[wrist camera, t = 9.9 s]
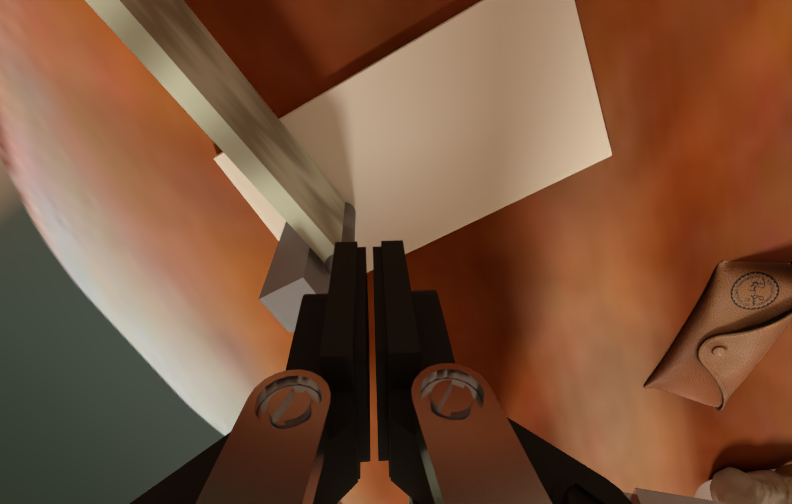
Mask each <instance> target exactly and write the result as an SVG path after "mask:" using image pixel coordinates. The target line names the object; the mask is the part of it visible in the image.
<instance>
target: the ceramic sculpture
mask: <svg viewBox="0 0 792 504" xmlns="http://www.w3.org/2000/svg"><path fill="white" fill-rule="evenodd" d="M710 491H711V497H712V499H713V501H717V502H722V503H728V504H792V464H789V465H785V466H782V467H780V468H778V469H776V470H775V471H773V470H757V471H750V472H747V473H745V472H743V471H741V470H738V469H736V468H733V467H727V468H725V469H722V470H720V471H718V472H716V473H715V474H714V475H713V478H712V481H711V484H710Z"/></svg>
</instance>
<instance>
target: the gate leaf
mask: <svg viewBox="0 0 792 504" xmlns="http://www.w3.org/2000/svg"><path fill="white" fill-rule="evenodd" d="M85 1H86V2H87V3H88V4H89V5H90V6H91V7H92V9H93V10H94V11H95V12H96V13H97V14H98V15H99V16H100V17H101V18H102V20H103V21H104V22H105V23H106V24H107V25H108V26H109V27H110V28H111V29H112V31H113V32H114V33H115V34H116V35H117V36H118V37H119V38H120V39H121V40H122V41H123V43H124V44H125V45H126V46H127V47H128V48H129V49H130V50H131V51H132V52H133V54H134V55H135V56H136V57H137V58H138V59H139V60H140V61H141V62H142V63H143V65H144V66H145V67H146V68H147V69H148V70H149V71H150V72H151V73H152V74H153V75H154V77H155V78H156V79H157V80H158V81H159V82H160V83H161V84H162V85H163V86H164V88H165V89H166V90H167V91H168V92H169V93H170V94H171V95H172V96H173V97H174V99H175V100H176V101H177V102H178V103H179V104H180V105H181V106H182V107H183V108H184V109H185V111H186V112H187V113H188V114H189V115H190V116H191V117H192V118H193V119H194V120H195V122H196V123H197V124H198V125H199V126H200V127H201V128H202V129H203V130H204V131H205V133H206V134H207V135H208V136H209V137H210V138H211V139H212V140H213V141H214V142H215V143H216V145H217V146H218V147H219V148H220V149H221V150H222V151H223V152H224V153H225V154H226V156H227V157H228V158H229V159H230V160H231V161H232V162H233V163H234V164H235V165H236V167H237V168H238V169H239V170H240V171H241V172H242V173H243V174H244V175H245V176H246V177H247V179H248V180H249V181H250V182H251V183H252V184H253V185H254V186H255V187H256V188H257V190H258V191H259V192H260V193H261V194H262V195H263V196H264V197H265V198H266V199H267V200H268V202H269V203H270V204H271V205H272V206H273V207H274V208H275V209H276V210H277V211H278V213H279V214H280V215H281V216H282V217H283V218H284V219H285V220H286V221H287V222H288V224H289V225H290V226H291V227H292V228H293V229H294V230H295V231H296V232H297V233H298V234H299V236H300V237H301V238H302V239H303V240H304V241H305V242H306V243H307V244H308V245H309V247H310V248H311V249H312V250H313V251H314V252H315V253H316V254H317V255H318V256H319V258H320V259H321V260H322V261H323V262H324V267H325V270H326V272H327V273H328V274H329V275H331V268H332V261H333V254H334V247H335V242H355V220H356V211H355V208H354V207H353V206H352V205H351V204H350V203H347V202H345V201H344V200H343V199H342V198H341V196H340V195H339V194H338V193H337V191H336V190H335V189H334V188H333V186H332V185H331V184H330V183H329V181H328V180H327V179H326V178H325V176H324V175H323V174H322V173H321V171H320V170H319V169H318V168H317V166H316V165H315V164H314V163H313V161H312V160H311V159H310V158H309V156H308V155H307V154H306V153H305V151H304V150H303V149H302V148H301V146H300V145H299V144H298V143H297V141H296V140H295V139H294V138H293V136H292V135H291V134H290V133H289V131H288V130H287V129H286V128H285V126H284V125H283V124H282V123H281V121H280V120H279V119H278V118H277V116H276V115H275V114H274V113H273V111H272V110H271V109H270V108H269V106H268V105H267V104H266V103H265V101H264V100H263V99H262V98H261V96H260V95H259V94H258V93H257V91H256V90H255V89H254V88H253V86H252V85H251V84H250V83H249V81H248V80H247V79H246V78H245V76H244V75H243V74H242V73H241V71H240V70H239V69H238V68H237V66H236V65H235V64H234V63H233V61H232V60H231V59H230V58H229V56H228V55H227V54H226V53H225V51H224V50H223V49H222V48H221V46H220V45H219V44H218V43H217V41H216V40H215V39H214V38H213V36H212V35H211V34H210V33H209V31H208V30H207V29H206V27H205V26H204V25H203V24H202V22H201V21H200V20H199V19H198V17H197V16H196V15H195V14H194V12H193V11H192V10H191V9H190V7H189V6H188V5H187V4H186V2H185V1H184V0H85Z"/></svg>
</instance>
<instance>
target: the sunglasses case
mask: <svg viewBox="0 0 792 504" xmlns="http://www.w3.org/2000/svg"><path fill="white" fill-rule="evenodd" d="M791 319H792V262H790V263H789V262H787V263H785V262H748V261H736V262H727V261H723V260H722V261H721V262H719V263H718V264H717V266H716V268H715V270H714V272H713V274H712V276H711V279H710V281H709V283H708V285H707V287H706V289H705V292H704V293H703V295H702V297H701V298H700V300H699V302H698V304H697V306H696V307H695V309H694V311H693V312H692V314H691V316H690V317H689V319H688V321H687V322H686V324H685V325H684V327H683V329H682V330H681V332H680V333H679V335H678V337H677V338H676V340H675V341H674V343H673V344H672V346H671V348H670V349H669V351H668V352H667V354H666V355H665V357H664V359H663V360H662V362H661V363H660V365H659V366H658V367H657V369H656V370H655V371H654V373H653V374H652V375H651V376H650V377H649V378H648V380H647V382H646V384H645V385H644V388H657V389H659V390H663V391H666V392H669V393H672V394H675V395H678V396H681V397H684V398H687V399H691V400H694V401H697V402H700V403H703V404H706V405H709V406H713V407H715V408H716V409H717V410H718V411H720V410H722V409H723V408H724V406H725V404H726V402H727V400H728V398H729V397H730V396H731V395H732V393H733V392H734V391H735V390H736V388H737V387H738V386H739V385H740V384H741V383H742V381H744V379H745V378H746V377H747V376H748V375H749V373H750V372H751V371H752V370H753V369H754V367H755V366H756V365H757V364H758V362H759V361H760V360H761V359H762V358H763V356H764V355H765V354H766V352H767V351H768V350H769V348H770V347H771V346H772V345H773V343H774V342H775V341H776V339H777V338H778V337H779V335H780V334H781V333H782V331H783V330H784V329H785V327H786V326H787V324H788V323H789V322H790V321H791Z"/></svg>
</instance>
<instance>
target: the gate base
mask: <svg viewBox="0 0 792 504" xmlns="http://www.w3.org/2000/svg"><path fill="white" fill-rule="evenodd" d="M279 120H280V121H281V123H282V124H283V125H284V126H285V128H286V129H287V130H288V131H289V133H290V134H291V135H292V136H293V138H294V139H295V140H296V141H297V143H298V144H299V145H300V146H301V148H302V149H303V150H304V151H305V153H306V154H307V155H308V156H309V158H310V159H311V160H312V161H313V163H314V164H315V165H316V166H317V168H318V169H319V170H320V171H321V173H322V174H323V175H324V176H325V178H326V179H327V180H328V181H329V183H330V184H331V185H332V186H333V188H334V189H335V190H336V191H337V193H338V194H339V195H340V196H341V198H342V199H343V200H344V201H345V202H347V203H350V204H351V205H352V206H353V207H354V208H355V211H356V220H355V241H357V244H358V247H366V263H367V272H369V271H371V270H373V247H380V246H381V241H394V240H403V245H404V251H405V254H407V253H409V252H411V251H413V250H415V249H417V248H420V247H422V246H424V245H426V244H428V243H430V242H432V241H434V240H436V239H438V238H440V237H443V236H445V235H447V234H449V233H451V232H453V231H455V230H457V229H459V228H461V227H463V226H466V225H468V224H470V223H472V222H474V221H476V220H478V219H480V218H482V217H484V216H486V215H489V214H491V213H493V212H495V211H497V210H499V209H501V208H503V207H505V206H507V205H509V204H512V203H514V202H516V201H518V200H520V199H522V198H524V197H526V196H528V195H530V194H532V193H535V192H537V191H539V190H541V189H543V188H545V187H547V186H549V185H551V184H553V183H555V182H558V181H560V180H562V179H564V178H566V177H568V176H570V175H572V174H574V173H576V172H578V171H581V170H583V169H585V168H587V167H589V166H591V165H593V164H595V163H597V162H599V161H601V160H604V159H606V158H608V157H610V156H612V153H611V148H610V144H609V140H608V136H607V132H606V128H605V124H604V120H603V116H602V111H601V107H600V103H599V99H598V95H597V91H596V87H595V83H594V79H593V74H592V70H591V66H590V62H589V58H588V54H587V50H586V46H585V42H584V37H583V33H582V29H581V25H580V21H579V17H578V13H577V9H576V5H575V0H481V1H479V2H478V3H476V4H474V5H472V6H471V7H469V8H467V9H466V10H464V11H462V12H461V13H459V14H457V15H455V16H454V17H452V18H450V19H449V20H447V21H445V22H443V23H442V24H440V25H438V26H437V27H435V28H433V29H431V30H430V31H428V32H426V33H425V34H423V35H421V36H420V37H418V38H416V39H414V40H413V41H411V42H409V43H408V44H406V45H404V46H402V47H401V48H399V49H397V50H396V51H394V52H392V53H390V54H389V55H387V56H385V57H384V58H382V59H380V60H378V61H377V62H375V63H373V64H372V65H370V66H368V67H367V68H365V69H363V70H361V71H360V72H358V73H356V74H355V75H353V76H351V77H349V78H348V79H346V80H344V81H343V82H341V83H339V84H337V85H336V86H334V87H332V88H331V89H329V90H327V91H325V92H324V93H322V94H320V95H319V96H317V97H315V98H314V99H312V100H310V101H308V102H307V103H305V104H303V105H302V106H300V107H298V108H296V109H295V110H293V111H291V112H290V113H288V114H286V115H284V116H283V117H281V118H279ZM214 160H215V161H216V162H217V164H218V165H219V166H220V168H221V169H222V170H223V171H224V173H225V174H226V175H227V176H228V178H229V179H230V180H231V181H232V183H233V184H234V185H235V187H236V188H237V189H238V190H239V192H240V193H241V194H242V195H243V197H244V198H245V199H246V200H247V202H248V203H249V204H250V205H251V207H252V208H253V209H254V211H255V212H256V213H257V214H258V216H259V217H260V218H261V219H262V221H263V222H264V223H265V224H266V226H267V227H268V228H269V229H270V231H271V232H272V233H273V235H274V236H275V237H276V238H277V240H278V241H279V243H278V246H277V249H276V252H275V254H274V257H273V260H272V263H271V266H270V269H269V272H268V274H267V277H266V280H265V283H264V286H263V289H262V291H261V294H260V297H259V300H260V301H261V302H262V303H263V304H264V305H265V307H266V308H267V309H268V310H269V311H270V312H271V313H272V314H273V315H274V317H275V318H276V319H277V320H278V321H279V322H280V323H281V324H282V325H283V327H284V328H285V329H286V330H287V331H288V332H289V333H291V332H293V331H295V327H296V323H297V318H298V314H299V310H300V305H301V301H302V297H303V295H304V294H325V293H328V290H329V283H330V276H331V275H329V274H328V273H327V272H326V270H325V267H324V262H323V261H322V260H321V259H320V258H319V256H318V255H317V254H316V253H315V252H314V251H313V250H312V249H311V248H310V247H309V245H308V244H307V243H306V242H305V241H304V240H303V239H302V238H301V237H300V236H299V234H298V233H297V232H296V231H295V230H294V229H293V228H292V227H291V226H290V225H289V224H288V222H287V221H286V220H285V219H284V218H283V217H282V216H281V215H280V214H279V213H278V211H277V210H276V209H275V208H274V207H273V206H272V205H271V204H270V203H269V202H268V200H267V199H266V198H265V197H264V196H263V195H262V194H261V193H260V192H259V191H258V190H257V188H256V187H255V186H254V185H253V184H252V183H251V182H250V181H249V180H248V179H247V177H246V176H245V175H244V174H243V173H242V172H241V171H240V170H239V169H238V168H237V167H236V165H235V164H234V163H233V162H232V161H231V160H230V159H229V158H228V157H227V156H226V154H225V153H224V152H221V153H220V154H218V155H216V156H215V158H214Z"/></svg>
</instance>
